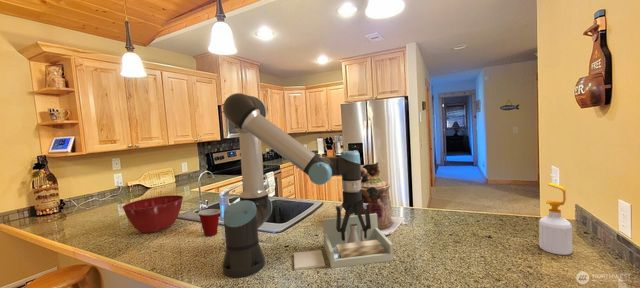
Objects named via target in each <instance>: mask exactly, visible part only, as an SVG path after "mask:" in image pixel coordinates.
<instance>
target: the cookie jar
mask: <svg viewBox="0 0 640 288" xmlns="http://www.w3.org/2000/svg"><path fill="white" fill-rule="evenodd" d="M379 163H380V162H379V161H376V162H375V163H366V164H364V165H363V166H362V167H361V191H362V202H363V203H365V204H366V203H368V204H369V205H370V208H369V214H375V213H376V214H377V222H378V229H379V230H380V231H381V232H382V233H383V234H384V235H385V236H388V235H392V234H393V233H394V232H395V231H396V230H397V229H398V228H399V227H400V225H401V224H402V223H403V222H404V221H405V219H406V218H405V217H404V216H403V217H402V216H400V217H399V216H393V208H392V206H393V205H392V202H391V201H392V200H391V197H390V192H389V191H390V187H391V184H390V182H387V181H384V180H381V179H380V178H379V176H380V172H381V170H379V169H380V167H379ZM360 212H361V215H365V210H364V208H363V207H362V208H361V210H360ZM355 215H357V214H354V216H355Z"/></svg>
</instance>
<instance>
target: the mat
mask: <svg viewBox="0 0 640 288" xmlns="http://www.w3.org/2000/svg"><path fill="white" fill-rule="evenodd" d="M293 262H294V263H293V264H294V271H298V270H299V271H301V270H307V269H317V268H325V267H326V263H325V259H324V256H323V252H322V249H316V250H315V249H314V250H307V251H299V252H297V251H296V252H294V253H293Z"/></svg>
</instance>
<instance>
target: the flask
mask: <svg viewBox="0 0 640 288" xmlns="http://www.w3.org/2000/svg"><path fill="white" fill-rule="evenodd" d="M349 226H350V235H349V239H348V242H347V243H354V242H361V241H360V239H359V236H358V232H357V226H358V225H357V224H350V225H349Z"/></svg>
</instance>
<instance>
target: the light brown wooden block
mask: <svg viewBox="0 0 640 288" xmlns="http://www.w3.org/2000/svg"><path fill="white" fill-rule="evenodd" d="M335 248H336V249H335V250H336V251H337V259H340V258H348V257H357V256H365V255H374V254H382V253H384V252H383V248H382V247H381V244H380V243H379V241H378V240H370V241H362V242H354V243H346V244H339V245H336V247H335Z"/></svg>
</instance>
